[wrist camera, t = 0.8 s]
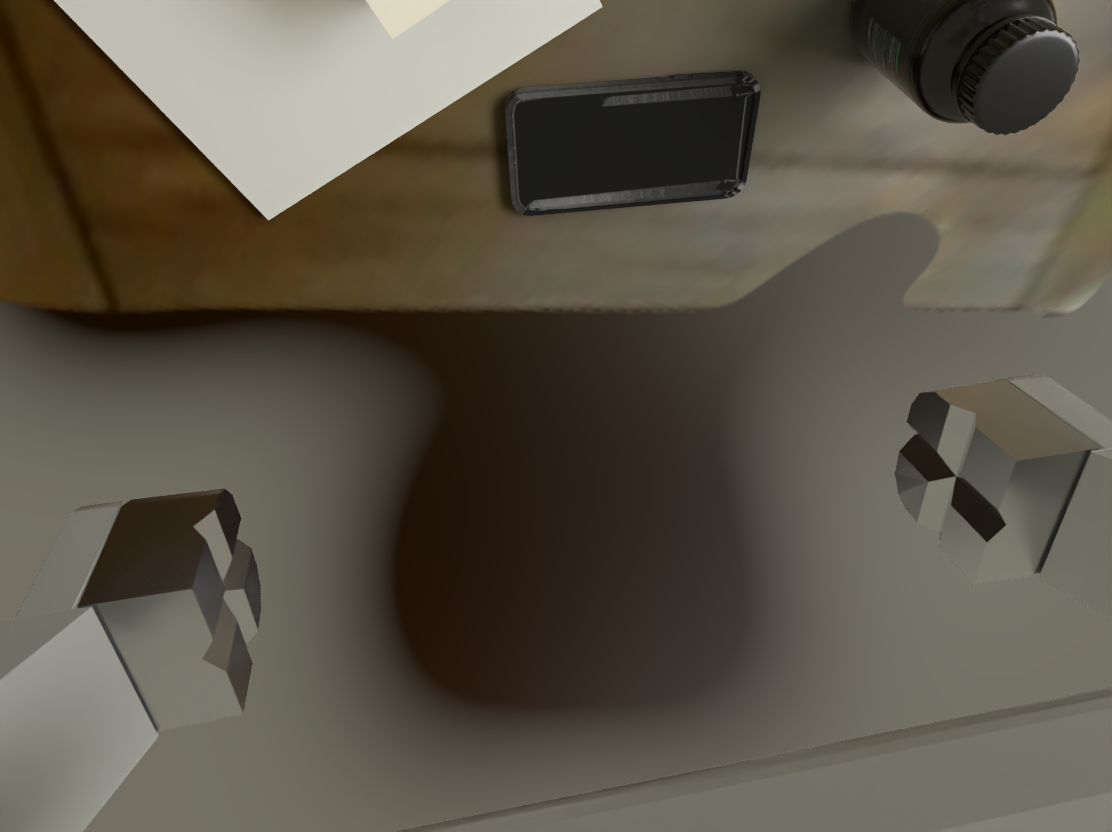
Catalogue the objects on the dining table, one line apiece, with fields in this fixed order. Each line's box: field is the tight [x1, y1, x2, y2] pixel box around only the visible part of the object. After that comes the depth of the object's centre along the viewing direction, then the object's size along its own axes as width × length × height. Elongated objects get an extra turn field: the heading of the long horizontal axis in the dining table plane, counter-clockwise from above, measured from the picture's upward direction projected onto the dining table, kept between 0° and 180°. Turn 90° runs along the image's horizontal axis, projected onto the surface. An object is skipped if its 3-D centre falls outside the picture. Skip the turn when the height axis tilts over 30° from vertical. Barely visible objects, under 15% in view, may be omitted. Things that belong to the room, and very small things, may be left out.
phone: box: [505, 71, 760, 216], centre depth 47 cm, size 8×1×15 cm
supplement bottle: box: [851, 0, 1080, 135], centre depth 40 cm, size 7×7×12 cm
